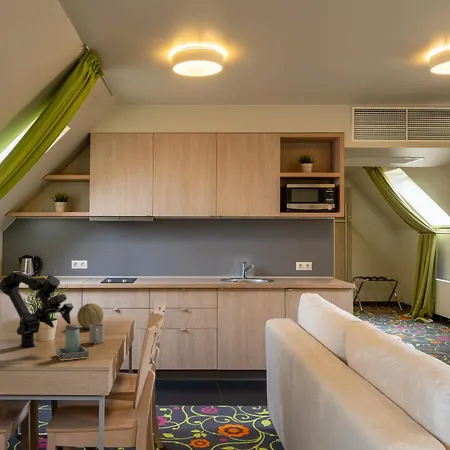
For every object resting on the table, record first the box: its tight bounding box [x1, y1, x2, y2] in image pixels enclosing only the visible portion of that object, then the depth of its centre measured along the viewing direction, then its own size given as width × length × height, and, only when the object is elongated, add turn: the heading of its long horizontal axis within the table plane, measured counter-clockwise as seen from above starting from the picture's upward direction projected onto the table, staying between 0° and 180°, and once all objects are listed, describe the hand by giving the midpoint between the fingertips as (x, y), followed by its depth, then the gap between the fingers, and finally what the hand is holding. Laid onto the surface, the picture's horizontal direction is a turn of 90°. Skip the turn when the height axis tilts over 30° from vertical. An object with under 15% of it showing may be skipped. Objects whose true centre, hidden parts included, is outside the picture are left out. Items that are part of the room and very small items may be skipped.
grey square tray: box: [55, 345, 90, 359], centre depth 220 cm, size 12×12×3 cm
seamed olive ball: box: [76, 302, 104, 330], centre depth 283 cm, size 15×15×15 cm
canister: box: [64, 324, 81, 354], centre depth 220 cm, size 6×6×14 cm
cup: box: [88, 323, 105, 344], centre depth 247 cm, size 7×10×9 cm
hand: (61, 325), depth 225 cm, fingers open, 9 cm apart
